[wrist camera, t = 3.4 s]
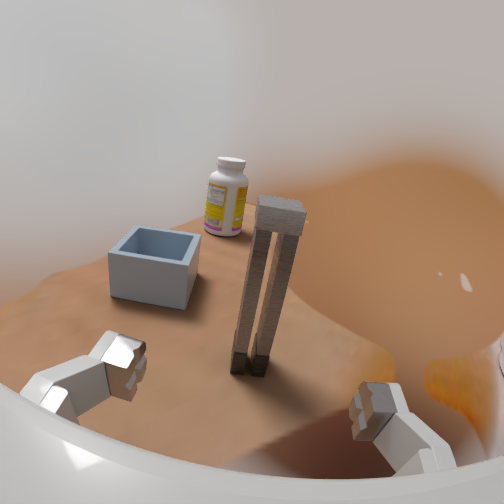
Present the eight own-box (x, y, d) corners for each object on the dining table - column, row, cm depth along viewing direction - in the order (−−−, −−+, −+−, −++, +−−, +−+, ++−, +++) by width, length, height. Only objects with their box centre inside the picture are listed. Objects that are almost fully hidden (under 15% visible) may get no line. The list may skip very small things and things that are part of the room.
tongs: (263, 354, 28) (299, 201, 22) (264, 377, 25) (306, 212, 19) (231, 350, 28) (258, 193, 22) (229, 373, 25) (259, 204, 19)
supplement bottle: (237, 225, 59) (247, 158, 54) (243, 239, 53) (256, 164, 48) (201, 222, 57) (210, 154, 52) (204, 236, 52) (214, 159, 46)
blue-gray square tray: (197, 272, 40) (201, 234, 38) (185, 310, 32) (188, 265, 30) (134, 262, 39) (135, 224, 37) (110, 296, 31) (108, 252, 29)
